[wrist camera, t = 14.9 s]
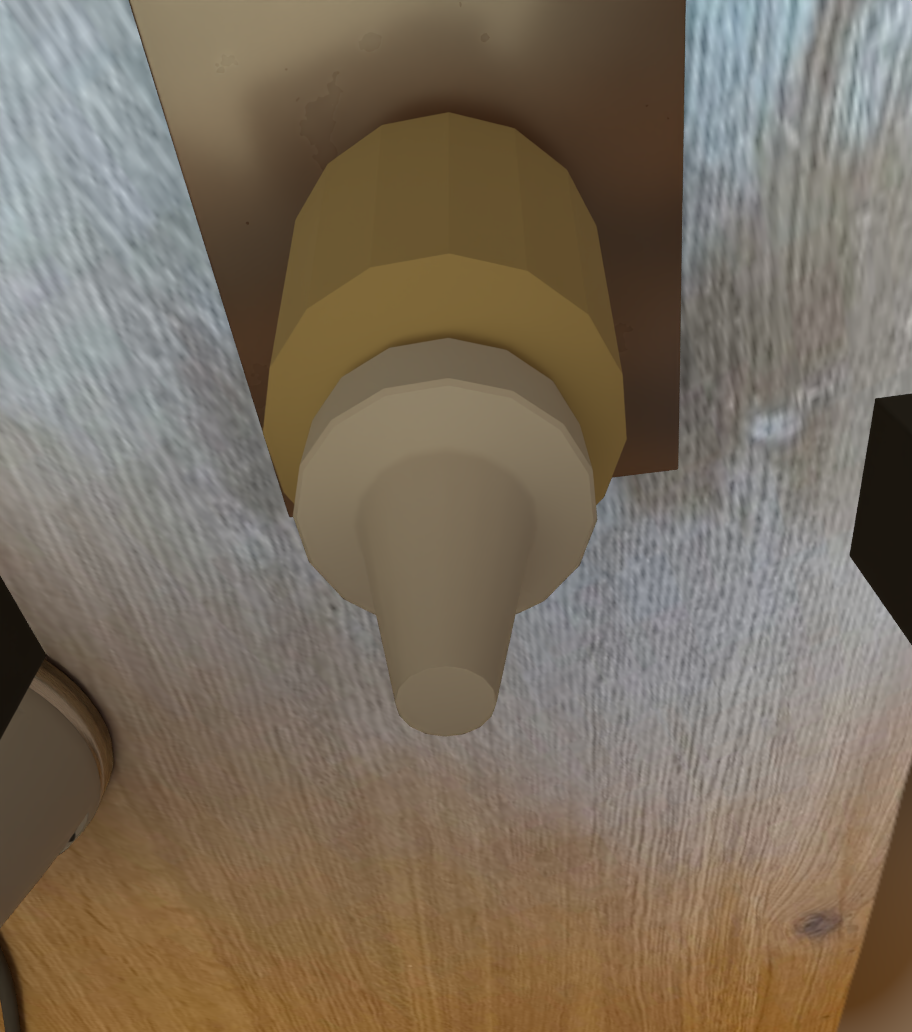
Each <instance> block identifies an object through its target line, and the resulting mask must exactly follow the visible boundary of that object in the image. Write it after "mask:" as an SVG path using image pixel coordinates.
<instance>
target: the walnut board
mask: <svg viewBox="0 0 912 1032" xmlns="http://www.w3.org/2000/svg"><path fill="white" fill-rule="evenodd" d="M129 3H130V6H131V9H132V13H133V16H134V19H135V22H136V25H137V29H138V32H139V35H140V38H141V42H142V45H143V48H144V51H145V54H146V58H147V61H148V64H149V67H150V71H151V74H152V77H153V80H154V83H155V87H156V90H157V93H158V96H159V100H160V103H161V106H162V109H163V112H164V116H165V119H166V122H167V125H168V128H169V132H170V135H171V138H172V141H173V145H174V148H175V151H176V154H177V157H178V161H179V164H180V167H181V170H182V174H183V177H184V180H185V183H186V186H187V190H188V193H189V196H190V199H191V203H192V206H193V209H194V212H195V215H196V219H197V222H198V225H199V228H200V231H201V235H202V238H203V241H204V244H205V248H206V251H207V254H208V257H209V260H210V264H211V267H212V270H213V273H214V277H215V280H216V283H217V286H218V289H219V293H220V296H221V299H222V302H223V306H224V309H225V312H226V315H227V318H228V322H229V325H230V328H231V331H232V334H233V338H234V341H235V344H236V347H237V351H238V354H239V357H240V360H241V363H242V367H243V370H244V373H245V376H246V380H247V383H248V386H249V389H250V392H251V396H252V399H253V402H254V405H255V409H256V412H257V415H258V418H259V421H260V425H261V428H262V431H263V427H264V417H265V408H266V398H267V388H268V379H269V369H270V363H271V357H272V352H273V346H274V340H275V334H276V329H277V323H278V317H279V312H280V306H281V300H282V294H283V289H284V283H285V277H286V271H287V266H288V260H289V254H290V248H291V243H292V237H293V231H294V225H295V220H296V218H297V216H298V214H299V213H300V211H301V209H302V207H303V206H304V204H305V202H306V201H307V199H308V197H309V195H310V194H311V192H312V190H313V188H314V187H315V185H316V183H317V181H318V180H319V178H320V176H321V175H322V173H323V171H324V169H325V168H326V166H327V164H328V163H330V162H331V161H332V160H334V159H335V158H337V157H338V156H339V155H341V154H342V153H343V152H345V151H346V150H348V149H349V148H350V147H352V146H353V145H355V144H356V143H357V142H359V141H360V140H362V139H363V138H364V137H366V136H367V135H369V134H370V133H371V132H373V131H374V130H376V129H377V128H378V127H380V126H381V125H384V124H390V123H395V122H400V121H405V120H410V119H415V118H421V117H426V116H431V115H436V114H441V113H447V112H450V113H454V114H458V115H462V116H467V117H471V118H475V119H479V120H483V121H487V122H491V123H495V124H499V125H503V126H507V127H511V128H515V129H516V130H517V131H519V132H520V133H521V134H523V135H524V136H525V137H526V138H528V139H529V140H530V141H531V142H533V143H534V144H535V145H536V146H538V147H539V148H540V149H542V150H543V151H544V152H545V153H547V154H548V155H549V156H550V157H552V158H553V159H554V160H555V161H557V162H558V163H559V164H561V165H562V166H563V167H564V168H566V169H567V171H568V173H569V175H570V176H571V178H572V180H573V182H574V184H575V186H576V188H577V190H578V192H579V194H580V196H581V197H582V199H583V201H584V203H585V205H586V207H587V209H588V211H589V213H590V215H591V216H592V218H593V220H594V222H595V224H596V226H597V231H598V237H599V243H600V249H601V254H602V260H603V266H604V271H605V277H606V283H607V289H608V294H609V300H610V306H611V311H612V317H613V323H614V329H615V334H616V340H617V346H618V351H619V357H620V363H621V369H622V374H623V389H624V404H625V420H626V436H627V440H626V442H625V445H624V447H623V450H622V452H621V455H620V458H619V460H618V463H617V465H616V468H615V470H614V473H613V475H612V477H620V476H628V475H636V474H645V473H653V472H661V471H669V470H677V469H678V450H679V387H680V325H681V263H682V201H683V139H684V77H685V15H686V0H129ZM267 447H268V446H267ZM268 450H269V449H268ZM269 454H270V452H269ZM270 457H271V455H270ZM271 460H272V458H271ZM272 463H273V461H272ZM273 466H274V464H273ZM274 470H275V473H276V476H277V479H278V483H279V486H280V489H281V492H282V495H283V499H284V502H285V505H286V508H287V512H288V515H289V517H293V511H294V503H293V502H292V501H291V500H290V499H289V498H288V497H287V495H286V494H285V493H284V492H283V489H282V487H281V484H280V481H279V478H278V475H277V472H276V469H275V466H274Z"/></svg>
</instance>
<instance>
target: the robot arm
mask: <svg viewBox="0 0 912 1032" xmlns="http://www.w3.org/2000/svg"><path fill="white" fill-rule="evenodd" d="M850 557H851V558H852V560H853V561H854V563H855V564H856V566H857V567H858V569H859V570H860V571H861V573H862V574H863V576H864V577H865V579H866V580H867V581H868V583H869V584H870V586H871V587H872V589H873V590H874V592H875V593H876V594H877V596H878V597H879V599H880V600H881V602H882V603H883V604H884V606H885V607H886V609H887V610H888V612H889V613H890V614H891V616H892V617H893V619H894V620H895V622H896V623H897V625H898V626H899V627H900V629H901V630H902V632H903V633H904V635H905V636H906V637H907V639H908V640H909V642H910V643H911V645H912V394H905V395H898V396H891V397H883V398H876V399H875V404H874V410H873V416H872V422H871V428H870V434H869V440H868V447H867V453H866V459H865V465H864V471H863V477H862V483H861V489H860V495H859V501H858V507H857V513H856V520H855V526H854V532H853V538H852V544H851V550H850ZM45 657H46V654H45V652H44V650H43V649H42V647H41V645H40V643H39V642H38V640H37V638H36V637H35V635H34V633H33V631H32V630H31V628H30V626H29V625H28V623H27V621H26V619H25V618H24V616H23V614H22V612H21V611H20V609H19V607H18V606H17V604H16V602H15V600H14V599H13V597H12V595H11V593H10V592H9V590H8V588H7V587H6V585H5V583H4V581H3V580H2V578H1V576H0V928H1V927H2V925H3V924H4V923H5V921H6V920H7V919H8V918H9V916H10V915H11V914H12V913H13V912H14V910H15V909H16V908H17V907H18V905H19V904H20V903H21V902H22V900H23V899H24V898H25V897H26V895H27V894H28V893H29V892H30V891H31V889H32V888H33V887H34V886H35V884H36V883H37V882H38V881H39V879H40V878H41V877H42V876H43V874H44V873H45V872H46V870H47V869H48V868H49V867H50V865H51V864H52V863H53V861H54V860H55V859H56V857H57V856H58V855H60V854H61V853H63V852H64V851H65V850H66V849H68V848H69V847H70V845H71V844H72V843H73V842H74V841H75V840H76V839H77V838H78V837H79V836H80V835H81V833H82V832H83V831H84V830H85V828H86V826H87V825H88V824H89V823H90V821H91V820H92V818H93V817H94V815H95V813H96V811H97V809H98V807H99V804H100V802H101V799H102V797H103V794H104V792H105V789H106V787H107V784H108V782H109V780H110V776H111V773H112V768H113V748H112V743H111V738H110V735H109V732H108V729H107V727H106V725H105V723H104V721H103V719H102V717H101V715H100V714H99V712H98V711H97V709H96V708H95V706H94V705H93V703H92V702H91V701H90V700H89V698H88V697H87V696H86V695H85V693H84V692H83V691H82V690H81V689H80V688H79V687H78V686H77V685H76V684H75V683H74V682H73V681H72V680H71V679H69V678H68V677H67V676H66V675H65V674H64V673H63V672H61V671H60V670H59V669H57V668H56V667H55V666H53V665H52V664H51V663H50V662H48V661H47V660H45ZM0 1001H1V1006H2V1012H3V1019H4V1026H5V1032H21V1029H20V1021H19V1013H18V1005H17V998H16V992H15V987H14V983H13V979H12V976H11V972H10V969H9V966H8V964H7V961H6V958H5V956H4V954H3V951H2V949H1V947H0Z"/></svg>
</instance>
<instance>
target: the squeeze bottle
mask: <svg viewBox="0 0 912 1032" xmlns="http://www.w3.org/2000/svg"><path fill="white" fill-rule="evenodd" d="M263 435H264V438H265V441H266V444H267V446H268V449H269V452H270V455H271V458H272V461H273V464H274V466H275V469H276V472H277V475H278V478H279V481H280V484H281V487H282V489H283V492H284V493H285V494H286V495H287V497H288V498H289V499H290V500H291V501H292V502H293V503H294V511H293V517H294V520H295V523H296V526H297V529H298V532H299V534H300V537H301V540H302V543H303V546H304V549H305V552H306V555H307V557H308V560H309V562H310V563H311V565H312V566H313V567H314V568H315V569H316V570H317V571H318V572H319V573H320V574H321V575H322V576H323V577H324V578H325V580H326V581H327V582H328V583H329V584H330V585H331V586H332V587H333V588H334V589H335V590H336V591H337V592H338V593H339V595H340V596H341V597H342V598H343V599H345V600H347V601H349V602H351V603H353V604H355V605H357V606H359V607H361V608H363V609H365V610H367V611H369V612H371V613H373V614H375V615H376V616H377V620H378V625H379V630H380V634H381V639H382V643H383V648H384V653H385V657H386V662H387V667H388V671H389V676H390V680H391V685H392V690H393V694H394V699H395V703H396V706H397V710H398V713H399V716H400V717H401V718H402V719H403V720H404V721H405V722H406V723H407V724H408V725H409V726H410V727H412V728H415V729H417V730H419V731H421V732H423V733H425V734H431V735H438V736H453V735H461V734H465V733H468V732H470V731H472V730H475V729H477V728H479V727H481V726H482V725H483V724H484V723H485V722H486V721H487V720H488V719H489V718H490V717H491V716H492V714H493V711H494V708H495V705H496V702H497V698H498V693H499V688H500V684H501V679H502V674H503V670H504V665H505V660H506V656H507V651H508V646H509V642H510V637H511V633H512V628H513V623H514V619H515V615H516V614H518V613H520V612H522V611H524V610H526V609H528V608H531V607H533V606H535V605H537V604H539V603H541V602H543V601H545V600H546V599H547V598H548V597H549V596H550V595H551V594H552V593H553V592H554V590H555V589H556V588H557V587H558V586H559V585H560V584H561V583H562V582H563V581H564V580H565V579H566V578H567V577H568V576H569V575H570V574H571V573H572V572H573V571H574V570H575V569H576V568H577V567H578V566H579V565H580V563H581V560H582V558H583V555H584V552H585V550H586V547H587V545H588V542H589V540H590V537H591V535H592V532H593V529H594V527H595V524H596V522H597V511H596V505H597V504H598V503H599V502H600V501H601V500H602V499H603V498H604V496H605V493H606V491H607V488H608V486H609V483H610V481H611V478H612V475H613V473H614V470H615V468H616V465H617V463H618V460H619V458H620V455H621V452H622V450H623V447H624V445H625V442H626V440H627V436H626V420H625V404H624V389H623V374H622V369H621V363H620V357H619V351H618V346H617V340H616V334H615V329H614V323H613V317H612V311H611V306H610V300H609V294H608V289H607V283H606V277H605V271H604V266H603V260H602V254H601V249H600V243H599V237H598V231H597V226H596V224H595V222H594V220H593V218H592V216H591V215H590V213H589V211H588V209H587V207H586V205H585V203H584V201H583V199H582V197H581V196H580V194H579V192H578V190H577V188H576V186H575V184H574V182H573V180H572V178H571V176H570V175H569V173H568V171H567V169H566V168H564V167H563V166H562V165H561V164H559V163H558V162H557V161H555V160H554V159H553V158H552V157H550V156H549V155H548V154H547V153H545V152H544V151H543V150H542V149H540V148H539V147H538V146H536V145H535V144H534V143H533V142H531V141H530V140H529V139H528V138H526V137H525V136H524V135H523V134H521V133H520V132H519V131H517V130H516V129H515V128H511V127H507V126H503V125H499V124H495V123H491V122H487V121H483V120H479V119H475V118H471V117H467V116H462V115H458V114H454V113H450V112H447V113H441V114H436V115H431V116H426V117H421V118H415V119H410V120H405V121H400V122H395V123H390V124H384V125H381V126H380V127H378V128H377V129H376V130H374V131H373V132H371V133H370V134H369V135H367V136H366V137H364V138H363V139H362V140H360V141H359V142H357V143H356V144H355V145H353V146H352V147H350V148H349V149H348V150H346V151H345V152H343V153H342V154H341V155H339V156H338V157H337V158H335V159H334V160H332V161H331V162H330V163H328V164H327V166H326V168H325V169H324V171H323V173H322V175H321V176H320V178H319V180H318V181H317V183H316V185H315V187H314V188H313V190H312V192H311V194H310V195H309V197H308V199H307V201H306V202H305V204H304V206H303V207H302V209H301V211H300V213H299V214H298V216H297V218H296V220H295V225H294V231H293V237H292V243H291V248H290V254H289V260H288V266H287V271H286V277H285V283H284V289H283V294H282V300H281V306H280V312H279V317H278V323H277V329H276V334H275V340H274V346H273V352H272V357H271V363H270V369H269V379H268V388H267V398H266V408H265V417H264V427H263Z"/></svg>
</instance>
